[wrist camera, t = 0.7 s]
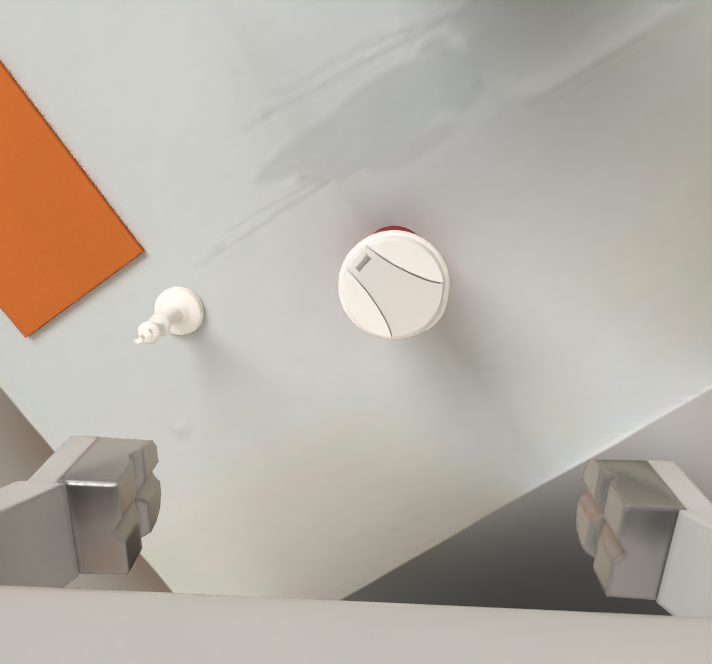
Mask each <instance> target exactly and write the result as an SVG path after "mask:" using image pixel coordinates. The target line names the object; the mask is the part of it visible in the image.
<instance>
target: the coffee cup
mask: <svg viewBox="0 0 712 664" xmlns="http://www.w3.org/2000/svg"><path fill="white" fill-rule="evenodd" d="M449 284H450V283H449V274H448V271H447V267H446V264H445V262H444V260H443V258H442V257H441V255H440V254H439V252H438V251H437V250H436V249H435V247H434V246H433V245H432V244H430V243H429V242H428V241H426V240H425V239H424V238H422V237H420V236H418V235H416V234H415V233H414V232H412V231H411V230H409V229H407V228H404V227H400V226H388V227H384V228H381V229H379V230H377V231H376V232H375V233H373V234H372V235H370V236H368V237H366V238H365V239H363V240H362V241H360V242H359V243H358V244H357V245H356V246H355V247H353V248H352V249H351V251H350V252H349V254H348V255H347V256H346V258H345V260H344V262H343V264H342V267H341V270H340V273H339V280H338V291H339V297H340V300H341V303H342V306H343V308H344V310H345V312H346V314H347V315H348V316H349V318H350V319H351V320H352V321H353V322H354V323H355V324H356V325H357V326H358V327H359V328H360V329H362V330H363V331H365V332H367V333H369V334H371V335H373V336H376V337H379V338H384V339H403V338H408V337H411V336H414V335H416V334H419V333H421V332H423V331H426V330H428V329H430V328H431V327H432V326H433V325H435V324H436V323H437V321H438V320H439V319H440V318H441V316H442V315H443V313H444V311H445V310H446V304H447V299H448V294H449Z"/></svg>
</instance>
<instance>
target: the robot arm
mask: <svg viewBox="0 0 712 664" xmlns="http://www.w3.org/2000/svg"><path fill="white" fill-rule="evenodd" d="M157 463H158V455H157V447H156V445H155V443H154V442H153V440H138V439H121V438H105V437H102V438H100V437H91V436H74V437H70V438H69V439H68V440H67V441H66V442H65V443H64V444H63V445H62V446H61V447H60V448H59V449H58V450H57V451H56V452H55V453H54V454H53V455H52V456H51V457H50V458H49V459H48V460H47V461H46V462H45V463H44V464H43V465H42V466H41V468H39V469H38V471H37V472H36V473H35V474H34V475H33V476H32V477H31V478H30V479H29V480H28V481H17V482H15V483H12V484H10V485H7V486H5V487H3V488H0V664H712V503H711V502H710V501H709V500H708V499H707V498H706V496H705V495H704V494H703V493H702V492H701V491H700V490H699V489H698V487H697V486H696V485H695V484H694V483H693V482H692V481H691V480H690V479H689V478H688V477H687V475H686V474H685V473H684V472H683V471H682V470H681V468H680V467H679V466H678V465H677V464H676V463H674V462H671V461H644V460H643V461H642V460H588V461H587V464H586V466H585V468H584V473H583V478H582V480H583V482H584V484H585V486H586V487H587V489H588V491H587V492H586V493H585V494H584V495H583V496H582V497H581V498H580V499H579V500H578V506H577V513H576V523H577V533H578V537H579V541H580V543H581V545H582V547H583V550H584V551H585V552H586V553H587V554H589V555H590V556H592V557H593V558H595V560H594V565H593V570H594V572H595V574H596V576H597V578H598V580H599V582H600V584H601V586H602V588H603V590H604V592H605V594H606V596H612V597H625V598H638V599H652V600H657V603H658V604H659V605H661V606H662V607H663V608H664V609H665V610H667V611H668V612H669V613H670V614H671V615H672V616H663V615H641V614H619V613H598V612H576V611H554V610H532V609H510V608H509V609H508V608H489V607H466V606H465V607H464V606H445V605H422V604H401V603H380V602H358V601H337V600H315V599H293V598H271V597H250V596H228V595H206V594H185V593H163V592H141V591H120V590H119V591H117V590H98V589H97V590H96V589H75V588H63V587H64V586H66V585H67V584H68V583H70V582H71V581H73V580H74V579H75V578H77V577H78V576H79V573H86V574H93V573H94V574H128V573H129V571H130V569H131V568H132V566H133V564H134V562H135V560H136V558H137V557H138V555H139V553H140V551H141V549H142V542H141V538H142V537H143V536H145V535H147V534H148V533H150V532H151V531H152V529H153V527H154V525H155V523H156V521H157V517H158V513H159V509H160V501H161V488H160V481H159V480H158V479H157V478H156V477H155V475H154V474H153V473H152V471H153V469H154V468H155V466H156V464H157Z"/></svg>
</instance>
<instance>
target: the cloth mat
mask: <svg viewBox="0 0 712 664" xmlns="http://www.w3.org/2000/svg"><path fill="white" fill-rule="evenodd" d="M143 252H144V250H143V249H142V247H141V246H140V245H139V243H138V242H137V241H136V239H135V238H134V237H133V235H132V234H131V233H130V231H129V230H128V229H127V227H126V226H125V225H124V223H123V222H122V221H121V220H120V218H119V217H118V216H117V214H116V213H115V212H114V210H113V209H112V208H111V206H110V205H109V204H108V202H107V201H106V200H105V198H104V197H103V196H102V194H101V193H100V192H99V191H98V189H97V188H96V187H95V185H94V184H93V183H92V181H91V180H90V179H89V177H88V176H87V175H86V173H85V172H84V171H83V169H82V168H81V167H80V165H79V164H78V163H77V162H76V160H75V159H74V158H73V156H72V155H71V154H70V152H69V151H68V150H67V148H66V147H65V146H64V144H63V143H62V142H61V140H60V139H59V138H58V136H57V135H56V134H55V133H54V131H53V130H52V129H51V127H50V126H49V125H48V123H47V122H46V121H45V119H44V118H43V117H42V115H41V114H40V113H39V111H38V110H37V109H36V108H35V106H34V105H33V104H32V102H31V101H30V100H29V98H28V97H27V96H26V94H25V93H24V92H23V90H22V89H21V88H20V86H19V85H18V84H17V82H16V81H15V80H14V79H13V77H12V76H11V75H10V73H9V72H8V71H7V69H6V68H5V67H4V65H3V64H2V63H1V61H0V308H1V309H2V310H3V312H4V313H5V314H6V315H7V316H8V318H9V319H10V320H11V321H12V322H13V324H14V325H15V326H16V327H17V328H18V330H19V331H20V332H21V333H22V334H23V336H24V337H25V338H26V337H28V336H30V335H31V334H32V333H34V332H35V331H36V330H38V329H39V328H40V327H42V326H43V325H45V324H46V323H47V322H49V321H50V320H51V319H53V318H54V317H55V316H57V315H58V314H60V313H61V312H62V311H64V310H65V309H66V308H68V307H69V306H70V305H72V304H73V303H75V302H76V301H77V300H79V299H80V298H81V297H83V296H84V295H85V294H87V293H88V292H90V291H91V290H92V289H94V288H95V287H96V286H98V285H99V284H100V283H102V282H103V281H104V280H106V279H107V278H109V277H110V276H111V275H113V274H114V273H115V272H117V271H118V270H119V269H121V268H122V267H124V266H125V265H126V264H128V263H129V262H130V261H132V260H133V259H134V258H136V257H137V256H139V255H140V254H141V253H143Z"/></svg>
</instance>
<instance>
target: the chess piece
mask: <svg viewBox="0 0 712 664" xmlns="http://www.w3.org/2000/svg"><path fill="white" fill-rule="evenodd" d="M154 313H155V315H153V316H151V317H150V319H149V321H147V322H144V323H142V324H141V325H140V326H139V328H138V335H139V337H138V338H136V339H135V340H134V342H135V343H136V344H138V343H140V342H141V341H143V342H145V343H148V344H152V343H155V342H157V341H158V340H159V338H160V337H162V336H165V335H167V334H168V333H171V334H175V335H185V334H189V333H191V332H193V331H195V330H196V329H197V328H198V327H199V326H200V325H201V323H202V321H203V317H204V308H203V305H202V302H201V300H200V299H199V297H198V296H197V295H196V294H195V293H194V292H192V291H191V290H189V289H187V288H184V287H171V288H168V289H166V290H165V291H163V292H162V293H161V294H160V296H159V297H158V298H157V300H156V302H155V307H154Z"/></svg>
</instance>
